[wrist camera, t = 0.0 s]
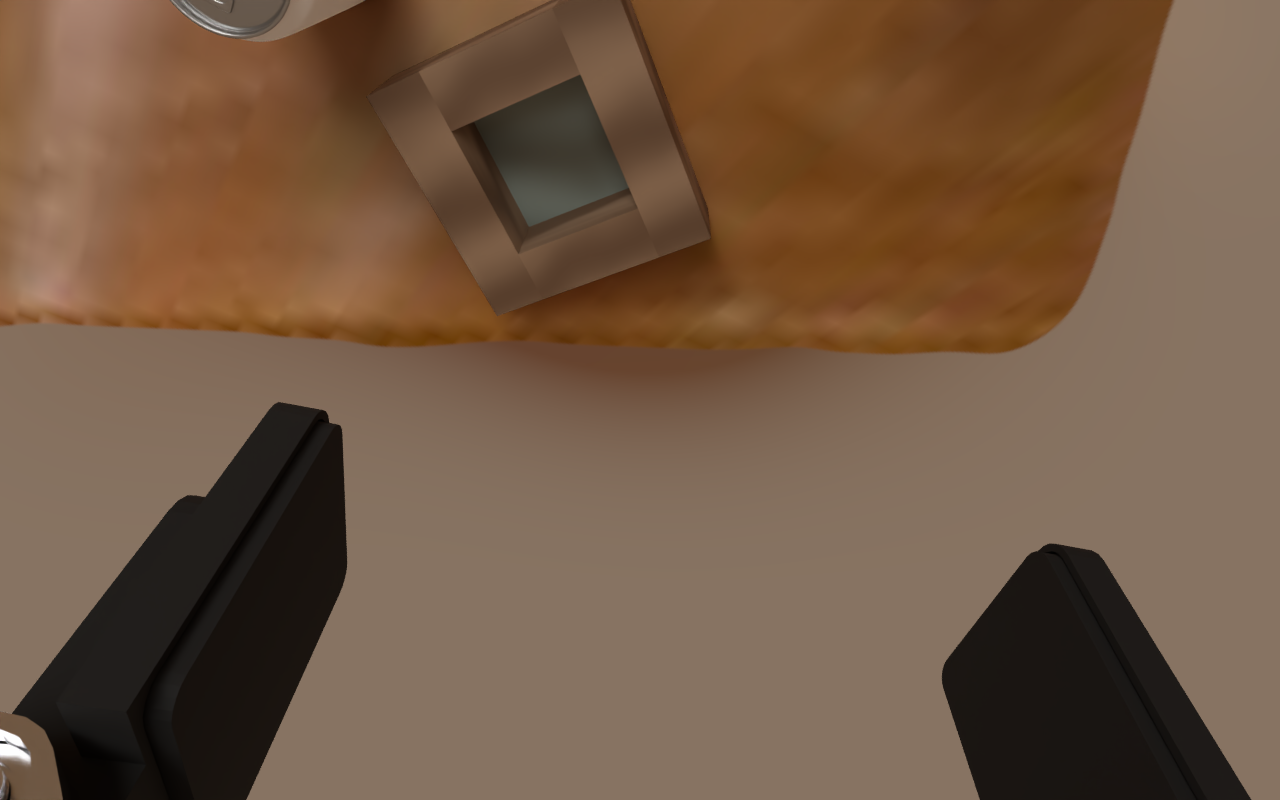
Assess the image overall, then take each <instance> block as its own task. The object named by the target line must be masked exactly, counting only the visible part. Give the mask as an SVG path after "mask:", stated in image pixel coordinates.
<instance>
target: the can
mask: <svg viewBox="0 0 1280 800" xmlns="http://www.w3.org/2000/svg"><path fill="white" fill-rule="evenodd" d="M170 1H171V2H172V4H173V5H174V6H175V7H176V8H177V9H178V10H179V11H180V12H181V13H183V14H184V15H185V16H186V17H187V18H189V19H190V20H191V21H193V22H194V23H196V24H197V25H199V26H200V27H202V28H204V29H206V30H208V31H210V32H212V33H215V34H217V35H220V36H224V37H228V38H235V39H243V40H248V41H256V42H265V41H273V40H278V39H281V38H284V37H287V36H290V35H292V34H295V33H297V32H299V31H301V30H304V29H306V28H308V27H310V26H313V25H315V24H317V23H319V22H321V21H323V20H326V19H328V18H330V17H332V16H334V15H336V14H339V13H341V12H343V11H345V10H347V9H349V8H351V7H353V6H355V5H357V4H359V3H361V2H363V1H365V0H170Z"/></svg>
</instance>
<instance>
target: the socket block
mask: <svg viewBox="0 0 1280 800" xmlns="http://www.w3.org/2000/svg"><path fill="white" fill-rule="evenodd" d="M366 97H367V99H368V100H369V102H370V104H371V105H372V107H373V109H374V110H375V112H376V114H377V115H378V117H379V119H380V120H381V122H382V124H383V125H384V127H385V129H386V130H387V132H388V134H389V135H390V137H391V139H392V141H393V142H394V144H395V146H396V147H397V149H398V151H399V152H400V154H401V156H402V157H403V159H404V161H405V162H406V164H407V166H408V167H409V169H410V171H411V172H412V174H413V176H414V177H415V179H416V181H417V182H418V184H419V186H420V188H421V189H422V191H423V193H424V194H425V196H426V198H427V199H428V201H429V203H430V204H431V206H432V208H433V209H434V211H435V213H436V214H437V216H438V218H439V219H440V221H441V223H442V224H443V226H444V228H445V229H446V231H447V233H448V234H449V236H450V238H451V240H452V241H453V243H454V245H455V246H456V248H457V250H458V251H459V253H460V255H461V256H462V258H463V260H464V261H465V263H466V265H467V266H468V268H469V270H470V271H471V273H472V275H473V276H474V278H475V280H476V281H477V283H478V285H479V287H480V288H481V290H482V292H483V293H484V295H485V297H486V298H487V300H488V302H489V303H490V305H491V307H492V308H493V310H494V312H495V313H496V315H497V316H499V315H502V314H504V313H507V312H510V311H513V310H515V309H518V308H521V307H524V306H526V305H529V304H532V303H535V302H537V301H540V300H543V299H546V298H548V297H551V296H554V295H557V294H559V293H562V292H565V291H568V290H571V289H573V288H576V287H579V286H582V285H584V284H587V283H590V282H593V281H595V280H598V279H601V278H604V277H606V276H609V275H612V274H615V273H617V272H620V271H623V270H626V269H628V268H631V267H634V266H637V265H639V264H642V263H645V262H648V261H650V260H653V259H656V258H659V257H661V256H664V255H667V254H670V253H673V252H675V251H678V250H681V249H684V248H686V247H689V246H692V245H695V244H697V243H700V242H703V241H706V240H708V239H711V235H710V225H709V215H708V208H707V205H706V202H705V200H704V197H703V194H702V192H701V189H700V186H699V184H698V181H697V178H696V176H695V173H694V170H693V168H692V165H691V162H690V159H689V157H688V154H687V151H686V149H685V146H684V143H683V141H682V138H681V135H680V133H679V130H678V127H677V125H676V122H675V119H674V116H673V114H672V111H671V108H670V106H669V103H668V100H667V98H666V95H665V92H664V90H663V87H662V84H661V82H660V79H659V76H658V73H657V71H656V68H655V65H654V63H653V60H652V57H651V55H650V52H649V49H648V47H647V44H646V41H645V39H644V36H643V33H642V30H641V28H640V25H639V22H638V20H637V17H636V14H635V12H634V9H633V6H632V4H631V1H630V0H551V1H549V2H547V3H545V4H543V5H541V6H539V7H537V8H535V9H533V10H530V11H528V12H526V13H524V14H522V15H520V16H518V17H516V18H514V19H512V20H509V21H507V22H505V23H503V24H501V25H499V26H497V27H495V28H493V29H491V30H488V31H486V32H484V33H482V34H480V35H478V36H476V37H474V38H472V39H469V40H467V41H465V42H463V43H461V44H459V45H457V46H455V47H453V48H451V49H448V50H446V51H444V52H442V53H440V54H438V55H436V56H434V57H432V58H430V59H427V60H425V61H423V62H421V63H419V64H417V65H415V66H413V67H411V68H409V69H406V70H404V71H402V72H400V73H398V74H396V75H394V76H392V77H391V78H390V79H388V80H387V81H386V82H384V83H383V84H382V85H381V86H379V87H378V88H377V89H375V90H374V91H373V92H372V93H370V94H369V95H368V96H366Z"/></svg>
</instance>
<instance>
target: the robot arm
mask: <svg viewBox="0 0 1280 800" xmlns="http://www.w3.org/2000/svg"><path fill="white" fill-rule="evenodd" d="M342 441H343V440H342V429H341V426H340V425H337V424H332V423H329V418H328V414H327V413H326V411H324V410H319V409H314V408H308V407H303V406H297V405H292V404H286V403H281V402H278V403H276V404H274V405H273V406H272V407H271V408H270V409H269V411H268V412H267V414H266V415H265V416H264V418H263V419H262V420H261V422H260V423H259V424H258V426H257V427H256V429H255V430H254V431H253V433H252V434H251V435H250V437H249V438H248V439H247V441H246V442H245V444H244V445H243V446H242V448H241V449H240V451H239V452H238V453H237V455H236V456H235V457H234V459H233V460H232V462H231V463H230V464H229V465H228V467H227V468H226V470H225V471H224V472H223V474H222V475H221V477H220V478H219V479H218V481H217V482H216V483H215V485H214V486H213V488H212V489H211V490H210V492H209V493H208V494H207V496H206V497H201V496H192V495H190V496H189V495H187V496H186V497H184V498H182V499H180V500H178V501H177V502H176V503H175V505H174V506H173V507H172V508H171V509H170V510H169V511H168V512H167V514H166V515H165V516H164V517H163V519H162V520H161V521H160V522H159V524H158V525H157V527H156V528H155V529H154V530H153V531H152V533H151V534H150V535H149V537H148V538H147V539H146V541H145V542H144V543H143V544H142V546H141V547H140V548H139V550H138V551H137V552H136V553H135V555H134V556H133V557H132V559H131V560H130V561H129V563H128V564H127V565H126V566H125V568H124V569H123V570H122V572H121V573H120V574H119V576H118V577H117V578H116V579H115V581H114V582H113V583H112V585H111V586H110V587H109V588H108V590H107V591H106V592H105V594H104V595H103V596H102V598H101V599H100V600H99V601H98V603H97V604H96V605H95V607H94V608H93V609H92V610H91V612H90V613H89V614H88V616H87V617H86V618H85V619H84V621H83V622H82V623H81V625H80V626H79V627H78V629H77V630H76V631H75V632H74V634H73V635H72V636H71V638H70V639H69V640H68V642H67V643H66V644H65V646H64V647H63V648H62V649H61V651H60V652H59V653H58V655H57V656H56V657H55V658H54V660H53V661H52V662H51V664H50V665H49V666H48V668H47V669H46V670H45V671H44V673H43V674H42V675H41V676H40V678H39V679H38V680H37V682H36V683H35V684H34V686H33V687H32V688H31V690H30V691H29V692H28V693H27V695H26V696H25V697H24V698H23V700H22V701H21V702H20V704H19V705H18V706H17V708H16V709H15V710H14V711H13V713H12V714H10V713H6V712H0V800H246V799H247V797H248V795H249V793H250V790H251V788H252V786H253V784H254V781H255V779H256V777H257V775H258V773H259V770H260V768H261V766H262V764H263V762H264V759H265V757H266V755H267V753H268V750H269V748H270V746H271V744H272V742H273V740H274V737H275V735H276V733H277V731H278V728H279V726H280V724H281V722H282V720H283V717H284V715H285V713H286V711H287V709H288V706H289V704H290V702H291V700H292V697H293V695H294V693H295V691H296V689H297V686H298V684H299V682H300V680H301V678H302V675H303V673H304V671H305V669H306V666H307V664H308V662H309V660H310V658H311V656H312V653H313V651H314V649H315V647H316V644H317V642H318V640H319V638H320V635H321V633H322V631H323V628H324V627H325V625H326V622H327V620H328V618H329V616H330V614H331V611H332V609H333V607H334V605H335V602H336V600H337V598H338V596H339V593H340V591H341V588H342V586H343V583H344V579H345V575H346V570H347V546H346V522H345V521H346V520H345V493H344V466H343V442H342ZM942 684H943V688H944V691H945V695H946V698H947V700H948V704H949V707H950V710H951V713H952V716H953V719H954V722H955V725H956V728H957V731H958V734H959V737H960V740H961V743H962V746H963V750H964V753H965V756H966V759H967V761H968V765H969V768H970V771H971V774H972V777H973V780H974V783H975V786H976V789H977V792H978V795H979V798H980V800H1251V799H1250V797H1249V795H1248V794H1247V792H1246V791H1245V789H1244V787H1243V786H1242V784H1241V782H1240V781H1239V779H1238V778H1237V776H1236V774H1235V773H1234V771H1233V770H1232V768H1231V766H1230V765H1229V763H1228V761H1227V760H1226V758H1225V756H1224V755H1223V753H1222V752H1221V750H1220V748H1219V747H1218V745H1217V744H1216V742H1215V740H1214V739H1213V737H1212V735H1211V734H1210V732H1209V730H1208V729H1207V727H1206V726H1205V724H1204V722H1203V721H1202V719H1201V717H1200V716H1199V714H1198V713H1197V711H1196V709H1195V708H1194V706H1193V704H1192V703H1191V701H1190V700H1189V698H1188V696H1187V695H1186V693H1185V691H1184V690H1183V688H1182V687H1181V685H1180V683H1179V682H1178V680H1177V678H1176V677H1175V675H1174V674H1173V672H1172V670H1171V669H1170V667H1169V665H1168V664H1167V662H1166V661H1165V659H1164V657H1163V656H1162V654H1161V653H1160V651H1159V649H1158V648H1157V646H1156V644H1155V643H1154V641H1153V640H1152V638H1151V636H1150V635H1149V633H1148V631H1147V630H1146V628H1145V627H1144V625H1143V623H1142V622H1141V620H1140V619H1139V617H1138V615H1137V614H1136V612H1135V610H1134V609H1133V607H1132V605H1131V604H1130V602H1129V601H1128V599H1127V597H1126V596H1125V594H1124V592H1123V591H1122V589H1121V588H1120V586H1119V584H1118V583H1117V581H1116V579H1115V578H1114V576H1113V575H1112V573H1111V572H1110V570H1109V568H1108V566H1107V565H1106V564H1105V562H1104V560H1103V559H1102V558H1101V557H1100V556H1099V554H1097V553H1095V552H1094V551H1092V550H1086V549H1080V548H1075V547H1070V546H1064V545H1059V544H1047V545H1045V546H1043V547H1042V548H1041V549H1040V550H1039V551H1038V552H1037V551H1036V552H1033V553H1031V554H1030V555H1028V556H1027V557H1026V559H1025V560H1024V561H1023V563H1022V564H1021V565H1020V566H1019V568H1018V569H1017V570H1016V572H1015V573H1014V574H1013V575H1012V577H1011V578H1010V579H1009V581H1008V582H1007V583H1006V584H1005V586H1004V587H1003V588H1002V590H1001V591H1000V592H999V593H998V595H997V596H996V597H995V599H994V600H993V601H992V603H991V604H990V605H989V606H988V608H987V609H986V610H985V611H984V613H983V614H982V615H981V617H980V618H979V619H978V620H977V622H976V623H975V624H974V626H973V627H972V628H971V630H970V631H969V632H968V633H967V635H966V636H965V637H964V639H963V640H962V641H961V642H960V644H959V645H958V646H957V647H956V649H955V650H954V651H953V653H952V654H951V655H950V656H949V658H948V659H947V660H946V662H945V664H944V667H943V671H942Z"/></svg>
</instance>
